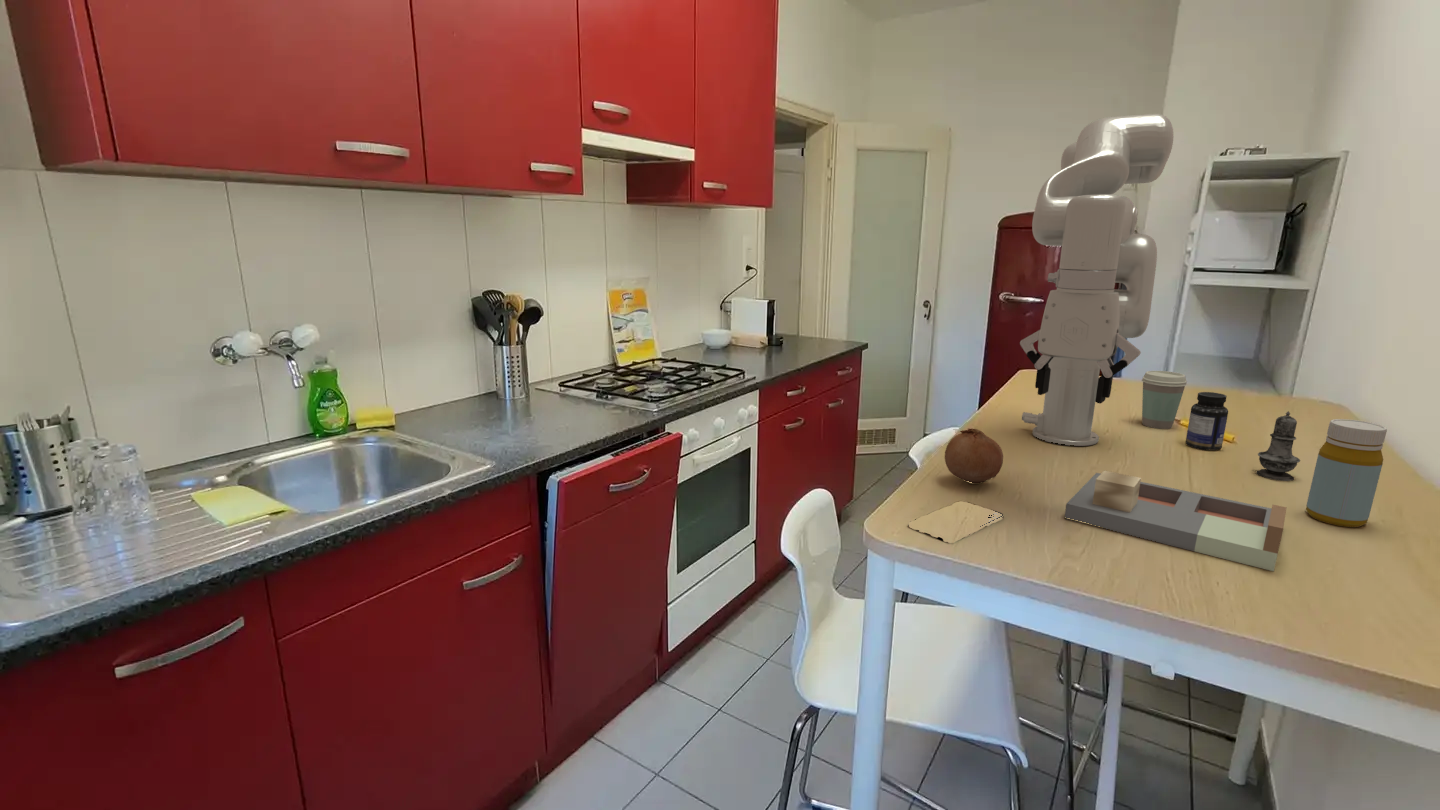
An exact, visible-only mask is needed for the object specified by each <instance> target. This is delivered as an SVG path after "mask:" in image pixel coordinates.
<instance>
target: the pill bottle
mask: <svg viewBox="0 0 1440 810" xmlns="http://www.w3.org/2000/svg"><path fill="white" fill-rule="evenodd" d="M1196 400H1197V403H1194V404H1193V405H1192V406H1191V408H1190V414H1189V421H1188V424H1187V425H1188V426H1187V431H1186V437H1185V445H1186V446H1189V447H1190V448H1194V449H1197V450H1200V451H1201V450H1202V451H1217V450H1221V449H1222V448H1223V444H1224V443H1223V442H1224V438H1225V434H1226V432H1225V431H1226V427H1227V423H1228V421H1227V420H1228V417H1229V409H1228V408H1227V407H1226V406H1225V405H1224V404H1225V403H1226V401H1227V395H1226V394H1224V393H1219V392H1213V391H1211V392H1210V391H1201V392H1197V396H1196Z"/></svg>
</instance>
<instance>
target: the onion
mask: <svg viewBox="0 0 1440 810" xmlns="http://www.w3.org/2000/svg"><path fill="white" fill-rule="evenodd" d="M944 463H945V464H946V465H945V466H946V468H947V470H948V471H949V472H950V473H951V474H952V475H953V476H954V477H956V478H958V479H960V480H962V481H964V480H965V481H964V482H966V481H969V482H972V483H979V484H983V483H986V482H987V481H989V480H991V479H995V478H996V477H997V476H998V474H999V473H1000V472H1001V469H1002V466H1003V464H1004V453H1003V449H1002V448H1001V446H1000V444H999V443H998V442H997V441H996V440H994V439H993V438H991V437H989V436H987V434H985V432H983V431H981V430H980V429H977V428H969V427H968V428H967V429H964V430H963V429H962V430H960V431H959V434H957V435H954V437H952V438H951V439H950V440H949V441H948V443H947V445H946V448H945V450H944Z"/></svg>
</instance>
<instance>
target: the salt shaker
mask: <svg viewBox="0 0 1440 810" xmlns="http://www.w3.org/2000/svg"><path fill="white" fill-rule="evenodd" d="M1290 415H1291V413H1290V411H1289V410H1288V411H1286V413H1285V415H1283V416H1278V417H1277V418H1276V419H1275V423H1274V428H1273V432H1272V433H1270V434H1269V436H1270V437H1271V438H1270V439H1271V440H1270V444H1269V447H1268V448H1267V450H1266V451H1259V452H1258V453H1257V456H1258V460H1259V464H1260V466H1262V467H1263V468H1261V469H1259V470H1256V472H1255V473H1256V475H1258V476H1260V477H1262V478H1266V479H1269V480H1274V481H1279V482H1281V481H1283V482H1291V481H1294V480H1295V477H1294V476H1293V475H1291V474H1290V473H1289V472H1291V471H1293V470H1295V468H1296V467H1297V465H1298V463H1300V462H1301V458H1298V457H1297V456H1295V455H1294V454H1293V445H1294V441H1295V440H1297V437H1296V436H1295V434H1296V428H1297V424H1298V421H1297V420H1296V418H1294V417H1292V416H1290Z"/></svg>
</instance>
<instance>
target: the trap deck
mask: <svg viewBox="0 0 1440 810" xmlns="http://www.w3.org/2000/svg"><path fill="white" fill-rule="evenodd" d="M1101 473H1102V472H1101ZM1101 473H1100V472H1095V473H1094V474H1093V476H1091V477H1090V479H1088V481H1087V482H1086V483H1085V484H1083V486H1082V487H1081V488H1080V489H1079V490H1078V491H1077V492H1076V493H1075V494H1074V495H1073V497H1071V499H1069V500H1068V501H1067V503H1066V505H1065V512H1064V518H1065V517H1066V518H1070V519H1074V520H1078V521H1082V522H1086V523H1089V524H1092V525H1096V526H1100V527H1103V528H1106V529H1105V530H1107V529H1110V530H1109V531H1111V530H1113V531H1112V532H1115V531H1117V532H1116V533H1119V532H1121V533H1120V534H1123V533H1124V534H1123V535H1127V534H1129V535H1128V536H1131V535H1132V537H1135V536H1136V537H1135V538H1139V537H1140V539H1143V538H1144V540H1147V539H1148V541H1151V540H1152V542H1155V541H1156V543H1159V544H1164V545H1168V546H1172V547H1176V548H1178V549H1184V550H1187V551H1192V552H1195V553H1199V554H1203V555H1207V556H1210V557H1215V558H1218V559H1219V558H1220V559H1223V560H1227V561H1230V562H1235V563H1238V564H1243V565H1247V566H1250V567H1255V568H1259V569H1262V570H1263V569H1264V570H1266V571H1271V572H1275V567H1276V563H1277V559H1278V555H1279V549H1280V545H1281V541H1282V536H1283V532H1284V526H1285V520H1286V519H1285V518H1286V515H1287V506H1282V505H1276V504H1272V506H1271V507H1267V506H1261V505H1256V504H1253V503H1246V502H1241V501H1237V500H1232V499H1227V498H1223V497H1222V498H1221V497H1218V496H1212V495H1209V494H1208V495H1207V494H1203V493H1198V492H1193V491H1188V490H1185V489H1184V490H1183V489H1177V488H1172V487H1169V486H1163V485H1159V484H1154V483H1149V482H1144V481H1141V482H1140V488H1139V495H1138V501H1137V504H1136V505H1135V506H1134V508H1133V509H1132V511H1131V512H1126V511H1121V510H1117V509H1113V508H1109V507H1104V506H1100V505H1096V504H1093V497H1094V490H1095V483H1096V479H1097V478H1098V477H1099V475H1100V474H1101ZM1103 528H1102V529H1103Z"/></svg>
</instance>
